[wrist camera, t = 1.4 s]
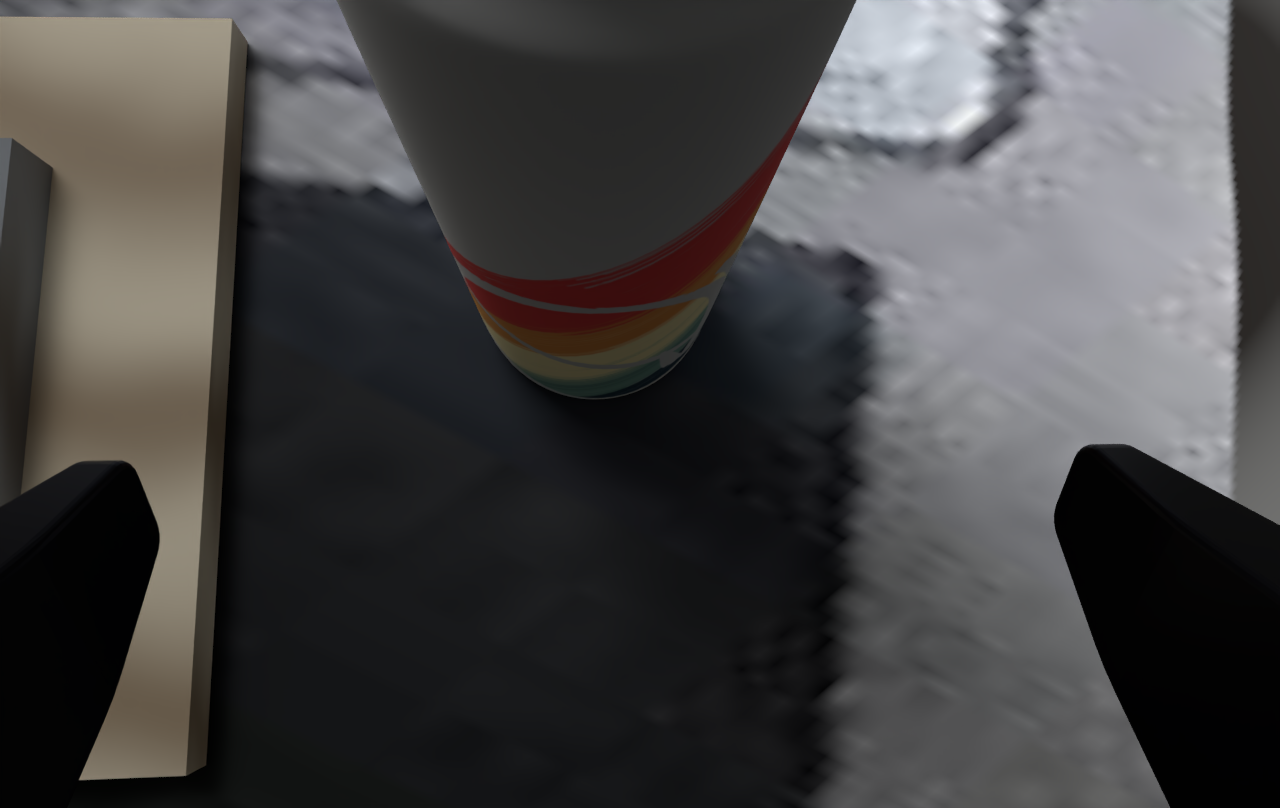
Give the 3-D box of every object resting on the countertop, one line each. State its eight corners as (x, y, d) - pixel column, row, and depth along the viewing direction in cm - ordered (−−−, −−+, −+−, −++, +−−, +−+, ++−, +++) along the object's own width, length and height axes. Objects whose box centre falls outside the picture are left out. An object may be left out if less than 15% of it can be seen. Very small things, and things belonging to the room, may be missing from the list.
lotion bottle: (617, 449, 22) (879, -730, 2) (436, 314, 22) (-966, -1878, 2) (749, 274, 22) (1832, -1711, 3) (573, 148, 23) (451, -2397, 3)
